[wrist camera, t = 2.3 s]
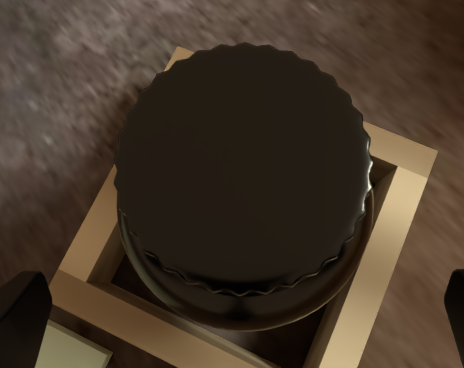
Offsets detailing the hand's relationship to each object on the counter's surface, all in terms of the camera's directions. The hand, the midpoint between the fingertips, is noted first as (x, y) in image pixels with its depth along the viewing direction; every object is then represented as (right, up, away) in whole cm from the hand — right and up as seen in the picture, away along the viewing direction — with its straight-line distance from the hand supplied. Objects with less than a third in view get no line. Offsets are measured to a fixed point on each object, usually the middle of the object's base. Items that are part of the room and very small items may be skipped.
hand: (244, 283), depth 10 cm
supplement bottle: (0, 0, +10) cm, 10 cm away
